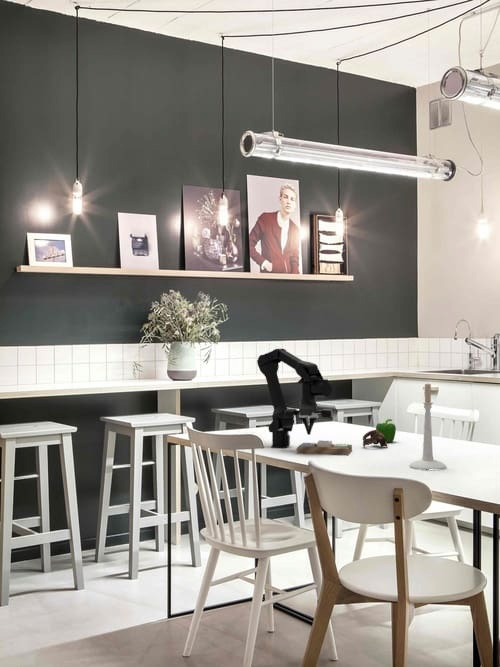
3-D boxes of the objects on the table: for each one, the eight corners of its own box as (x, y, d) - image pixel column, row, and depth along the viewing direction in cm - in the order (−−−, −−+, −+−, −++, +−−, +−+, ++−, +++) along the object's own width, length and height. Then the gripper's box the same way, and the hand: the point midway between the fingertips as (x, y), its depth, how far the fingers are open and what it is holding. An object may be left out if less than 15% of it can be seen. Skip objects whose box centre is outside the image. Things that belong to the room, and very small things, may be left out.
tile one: (301, 450, 340) (301, 444, 340) (303, 448, 345) (303, 442, 345) (313, 450, 339) (313, 444, 338) (315, 448, 343) (315, 442, 343)
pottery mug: (390, 450, 347) (381, 433, 345) (369, 460, 349) (360, 443, 347) (387, 439, 359) (378, 422, 357) (366, 448, 360) (358, 432, 358)
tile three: (333, 451, 337) (333, 445, 337) (335, 449, 341) (335, 443, 341) (346, 451, 335) (346, 445, 335) (348, 450, 340) (348, 443, 340)
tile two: (317, 448, 338) (317, 441, 338) (319, 446, 343) (319, 440, 343) (330, 448, 337) (330, 442, 337) (331, 446, 342) (331, 440, 342)
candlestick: (428, 463, 314) (428, 380, 313) (454, 468, 303) (454, 383, 302) (401, 466, 307) (401, 382, 306) (427, 471, 296) (427, 384, 296)
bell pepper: (373, 443, 365) (373, 419, 364) (378, 440, 372) (378, 417, 372) (393, 444, 361) (393, 420, 361) (397, 441, 369) (397, 418, 369)
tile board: (296, 453, 337) (296, 447, 337) (302, 449, 348) (302, 443, 348) (347, 455, 332) (347, 449, 332) (351, 450, 343) (351, 444, 343)
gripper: (281, 396, 336) (281, 436, 336) (328, 397, 331) (329, 438, 331) (287, 394, 346) (287, 433, 347) (333, 395, 342) (333, 434, 342)
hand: (308, 434), depth 341 cm, fingers closed
